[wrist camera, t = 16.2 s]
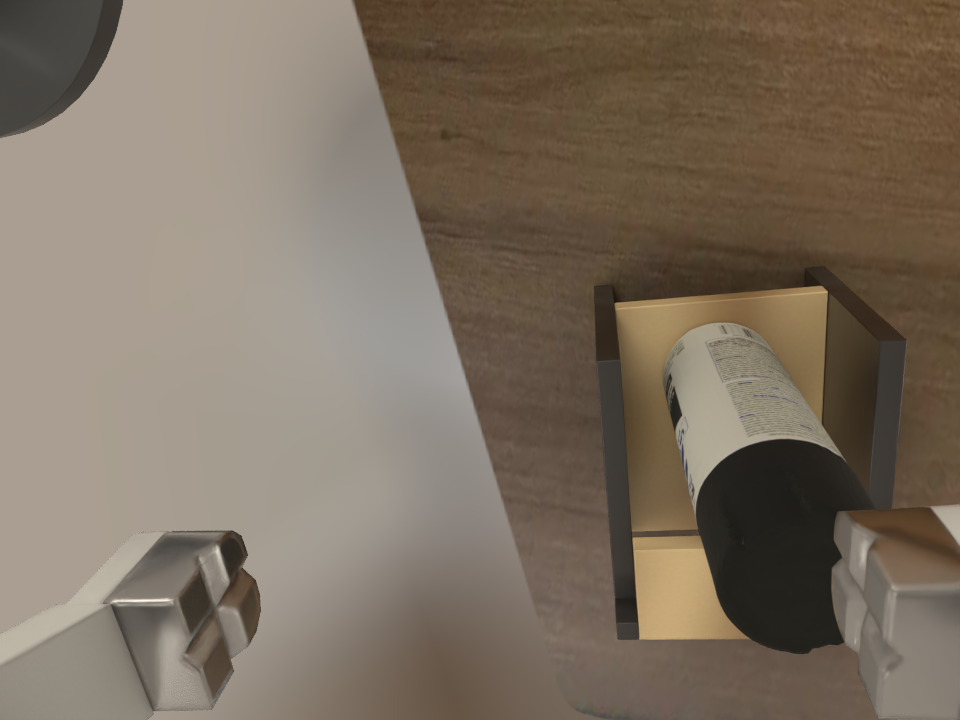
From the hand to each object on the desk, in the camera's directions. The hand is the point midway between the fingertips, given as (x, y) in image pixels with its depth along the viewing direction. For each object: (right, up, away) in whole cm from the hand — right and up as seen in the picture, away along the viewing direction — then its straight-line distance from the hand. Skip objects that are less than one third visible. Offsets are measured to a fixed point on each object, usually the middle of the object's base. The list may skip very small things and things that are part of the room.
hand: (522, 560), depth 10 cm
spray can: (+14, +2, +34) cm, 37 cm away
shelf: (+15, +1, +40) cm, 43 cm away
